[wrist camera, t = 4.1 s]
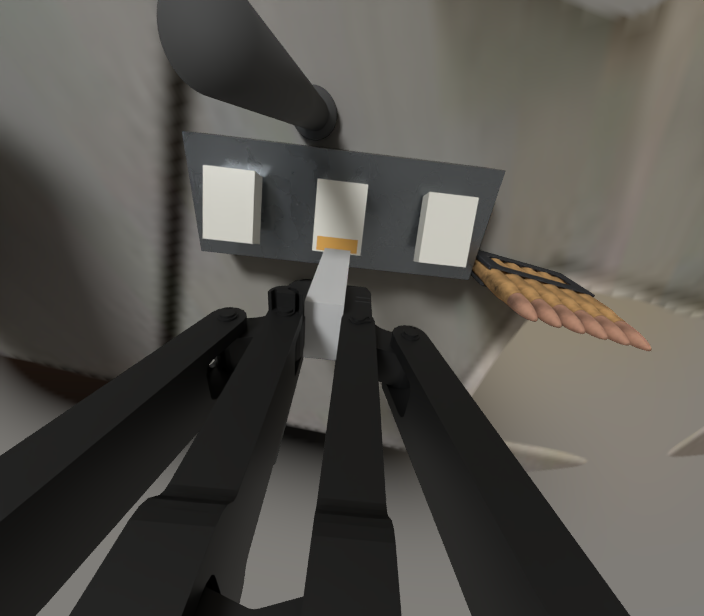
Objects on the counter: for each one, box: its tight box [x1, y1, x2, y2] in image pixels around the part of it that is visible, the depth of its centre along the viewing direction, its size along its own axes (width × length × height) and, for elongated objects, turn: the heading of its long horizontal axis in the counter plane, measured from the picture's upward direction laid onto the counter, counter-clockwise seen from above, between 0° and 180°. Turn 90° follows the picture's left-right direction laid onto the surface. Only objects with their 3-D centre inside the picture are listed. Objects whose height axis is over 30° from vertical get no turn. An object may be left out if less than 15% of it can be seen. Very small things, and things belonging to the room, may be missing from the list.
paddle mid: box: [312, 179, 368, 256], centre depth 21 cm, size 4×5×2 cm
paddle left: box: [203, 165, 263, 244], centre depth 21 cm, size 4×5×2 cm
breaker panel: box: [182, 131, 505, 280], centre depth 25 cm, size 24×9×4 cm, turn 84°
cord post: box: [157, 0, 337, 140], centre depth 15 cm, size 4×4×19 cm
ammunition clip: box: [471, 250, 651, 351], centre depth 24 cm, size 11×2×12 cm, turn 75°
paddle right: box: [413, 192, 479, 267], centre depth 22 cm, size 4×5×2 cm
